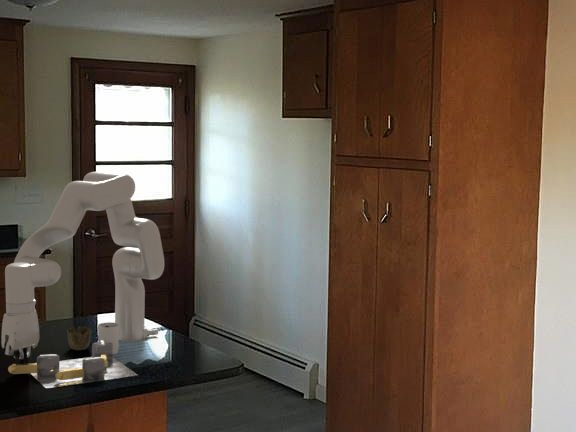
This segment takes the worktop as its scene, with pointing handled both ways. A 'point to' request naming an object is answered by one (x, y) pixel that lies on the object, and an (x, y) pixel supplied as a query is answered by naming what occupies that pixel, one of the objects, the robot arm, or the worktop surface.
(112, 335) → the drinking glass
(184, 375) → the worktop surface
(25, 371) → the knob
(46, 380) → the plate
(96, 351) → the knob
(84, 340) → the cup
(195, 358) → the worktop surface
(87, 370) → the knob left
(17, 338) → the robot arm
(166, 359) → the worktop surface
